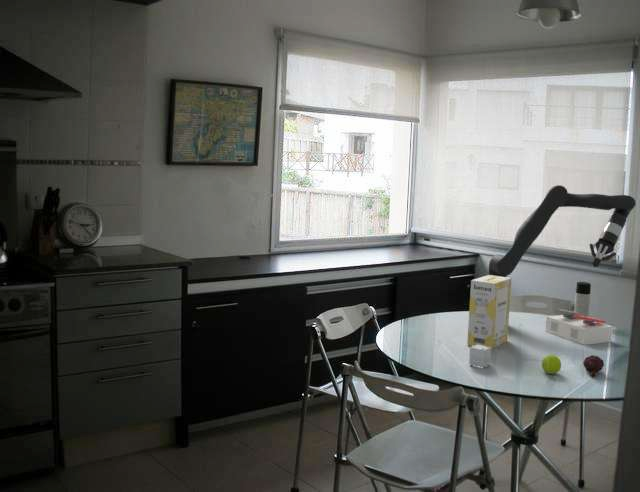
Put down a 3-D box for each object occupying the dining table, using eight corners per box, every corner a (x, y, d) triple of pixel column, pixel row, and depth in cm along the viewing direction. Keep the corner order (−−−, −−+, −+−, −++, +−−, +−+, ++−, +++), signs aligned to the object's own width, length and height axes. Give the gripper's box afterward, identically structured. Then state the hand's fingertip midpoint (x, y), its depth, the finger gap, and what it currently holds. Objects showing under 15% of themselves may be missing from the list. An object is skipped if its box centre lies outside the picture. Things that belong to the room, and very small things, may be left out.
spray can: (585, 321, 355) (589, 281, 353) (589, 325, 349) (592, 284, 346) (571, 321, 356) (575, 281, 353) (575, 324, 349) (578, 283, 347)
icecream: (583, 350, 281) (579, 363, 268) (603, 348, 278) (600, 361, 265) (586, 366, 282) (583, 381, 269) (606, 365, 279) (604, 379, 265)
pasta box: (490, 349, 301) (494, 283, 297) (467, 345, 307) (471, 280, 303) (507, 341, 315) (511, 277, 312) (484, 336, 322) (488, 274, 318)
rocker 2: (581, 320, 315) (582, 316, 315) (572, 317, 320) (573, 313, 319) (604, 324, 321) (605, 321, 321) (595, 321, 325) (596, 318, 325)
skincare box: (476, 362, 283) (477, 344, 282) (490, 365, 279) (491, 347, 278) (468, 365, 278) (469, 347, 277) (483, 369, 274) (484, 350, 273)
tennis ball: (556, 370, 275) (558, 353, 274) (563, 376, 268) (564, 358, 267) (538, 370, 274) (539, 352, 273) (544, 376, 267) (546, 358, 266)
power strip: (583, 344, 313) (584, 326, 312) (545, 331, 334) (546, 313, 333) (611, 341, 319) (612, 323, 318) (572, 328, 341) (573, 311, 340)
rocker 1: (561, 313, 326) (562, 310, 326) (553, 311, 331) (554, 307, 331) (584, 317, 332) (584, 314, 332) (576, 315, 337) (576, 312, 337)
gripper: (624, 242, 335) (608, 274, 331) (596, 232, 341) (580, 264, 338) (625, 236, 328) (608, 269, 325) (596, 226, 335) (580, 258, 331)
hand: (594, 266), depth 331 cm, fingers closed
